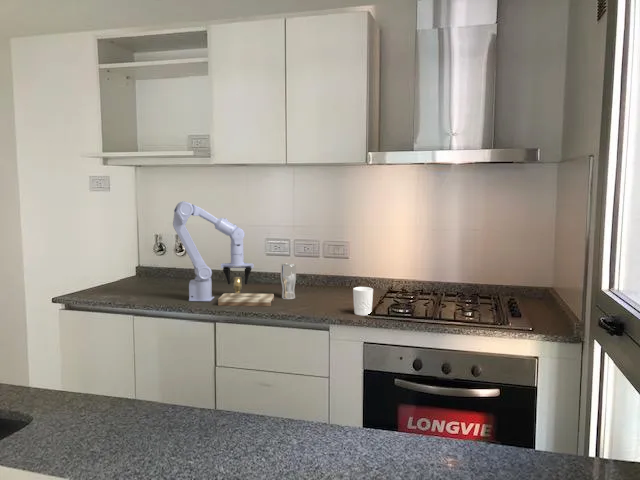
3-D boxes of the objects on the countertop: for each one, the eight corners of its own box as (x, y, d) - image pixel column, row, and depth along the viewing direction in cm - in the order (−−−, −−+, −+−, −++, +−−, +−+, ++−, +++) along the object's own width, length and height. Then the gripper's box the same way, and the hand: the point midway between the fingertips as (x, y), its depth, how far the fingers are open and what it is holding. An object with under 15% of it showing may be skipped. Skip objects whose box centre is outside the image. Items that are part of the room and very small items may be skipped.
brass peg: (232, 298, 234) (232, 278, 233) (234, 296, 238) (233, 276, 237) (241, 298, 234) (241, 278, 233) (242, 296, 238) (242, 276, 237)
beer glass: (294, 299, 231) (294, 266, 229) (278, 299, 232) (278, 265, 231) (297, 296, 238) (297, 263, 236) (283, 295, 239) (283, 263, 238)
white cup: (352, 315, 203) (352, 290, 202) (353, 310, 211) (353, 286, 210) (372, 316, 202) (372, 290, 201) (373, 311, 209) (373, 287, 208)
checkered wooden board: (218, 305, 219) (218, 299, 219) (224, 299, 231) (224, 293, 231) (270, 306, 218) (270, 299, 218) (273, 300, 230) (273, 293, 230)
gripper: (254, 252, 237) (255, 282, 239) (223, 252, 238) (223, 282, 239) (252, 254, 230) (252, 285, 232) (219, 254, 231) (220, 285, 232)
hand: (237, 283), depth 235 cm, fingers open, 7 cm apart
